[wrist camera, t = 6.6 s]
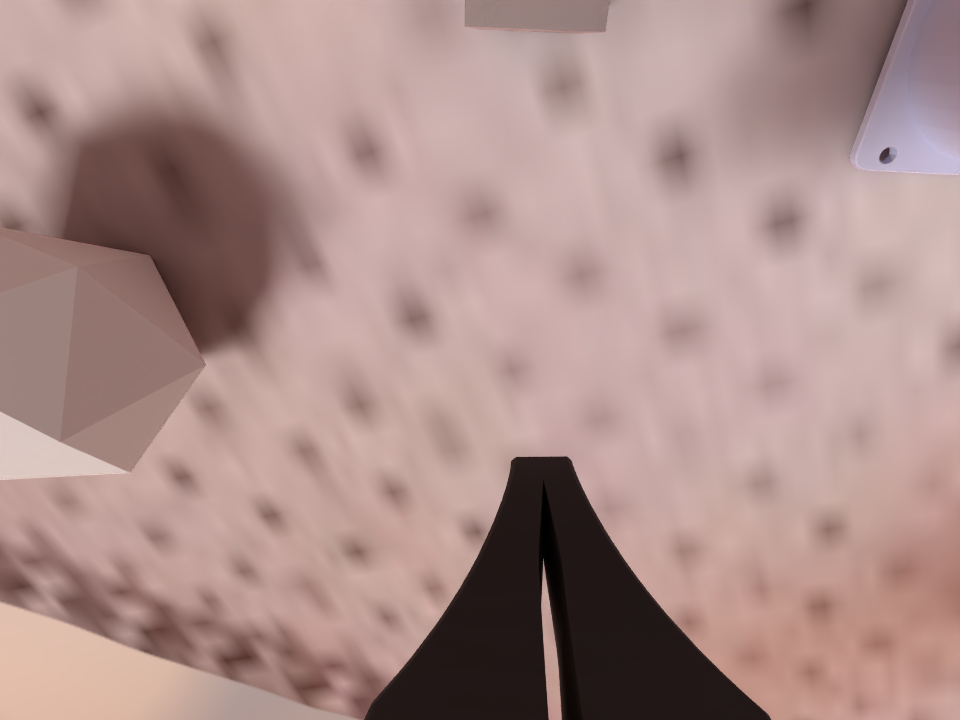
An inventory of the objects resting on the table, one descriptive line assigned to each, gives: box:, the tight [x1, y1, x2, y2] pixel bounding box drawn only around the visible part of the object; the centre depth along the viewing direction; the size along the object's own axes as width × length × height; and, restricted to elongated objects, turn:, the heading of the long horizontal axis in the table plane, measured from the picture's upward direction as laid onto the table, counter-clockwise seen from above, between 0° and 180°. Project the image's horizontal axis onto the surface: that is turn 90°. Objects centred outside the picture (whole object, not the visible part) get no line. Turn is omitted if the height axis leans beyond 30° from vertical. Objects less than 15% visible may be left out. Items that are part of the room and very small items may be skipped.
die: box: [0, 227, 206, 480], centre depth 19 cm, size 8×9×10 cm
